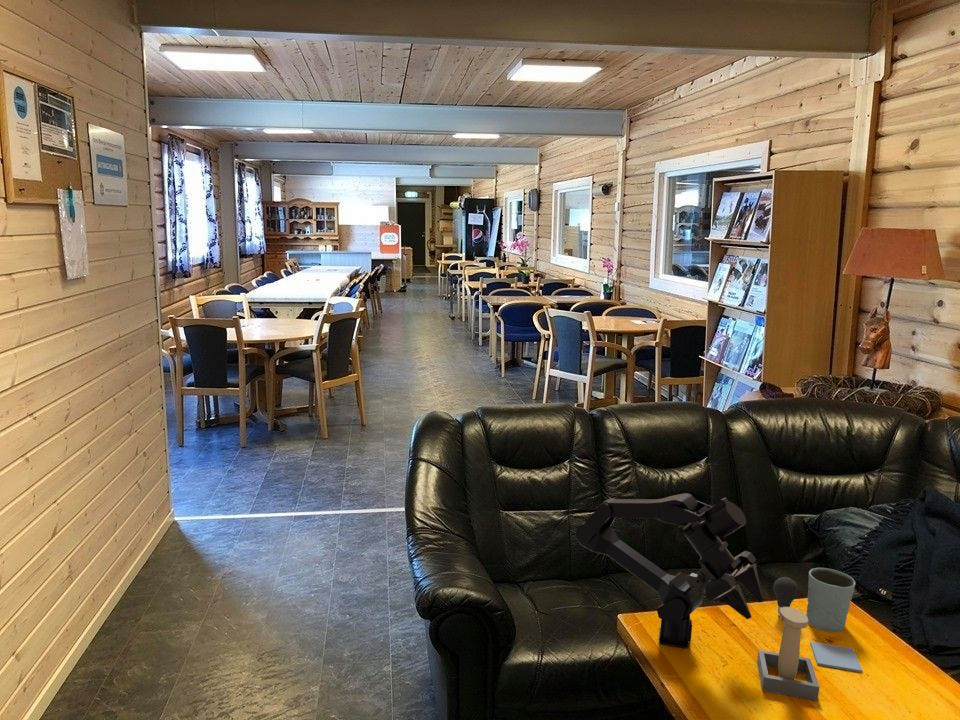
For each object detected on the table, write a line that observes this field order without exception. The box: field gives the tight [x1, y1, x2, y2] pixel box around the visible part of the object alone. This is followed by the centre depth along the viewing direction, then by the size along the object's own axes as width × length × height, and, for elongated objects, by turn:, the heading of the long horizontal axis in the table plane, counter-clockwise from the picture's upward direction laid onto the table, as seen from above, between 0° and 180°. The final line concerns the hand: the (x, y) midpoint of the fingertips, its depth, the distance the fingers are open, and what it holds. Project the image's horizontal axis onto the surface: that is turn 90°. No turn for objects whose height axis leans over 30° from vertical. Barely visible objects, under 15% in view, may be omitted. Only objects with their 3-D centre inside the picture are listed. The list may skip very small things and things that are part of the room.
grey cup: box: [805, 567, 857, 633], centre depth 176 cm, size 10×10×12 cm
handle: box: [777, 606, 809, 680], centre depth 151 cm, size 5×6×15 cm
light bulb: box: [772, 576, 799, 615], centre depth 178 cm, size 6×6×10 cm
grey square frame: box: [756, 649, 820, 701], centre depth 152 cm, size 10×10×3 cm
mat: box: [809, 641, 864, 674], centre depth 162 cm, size 9×9×1 cm
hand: (755, 609), depth 154 cm, fingers open, 9 cm apart
